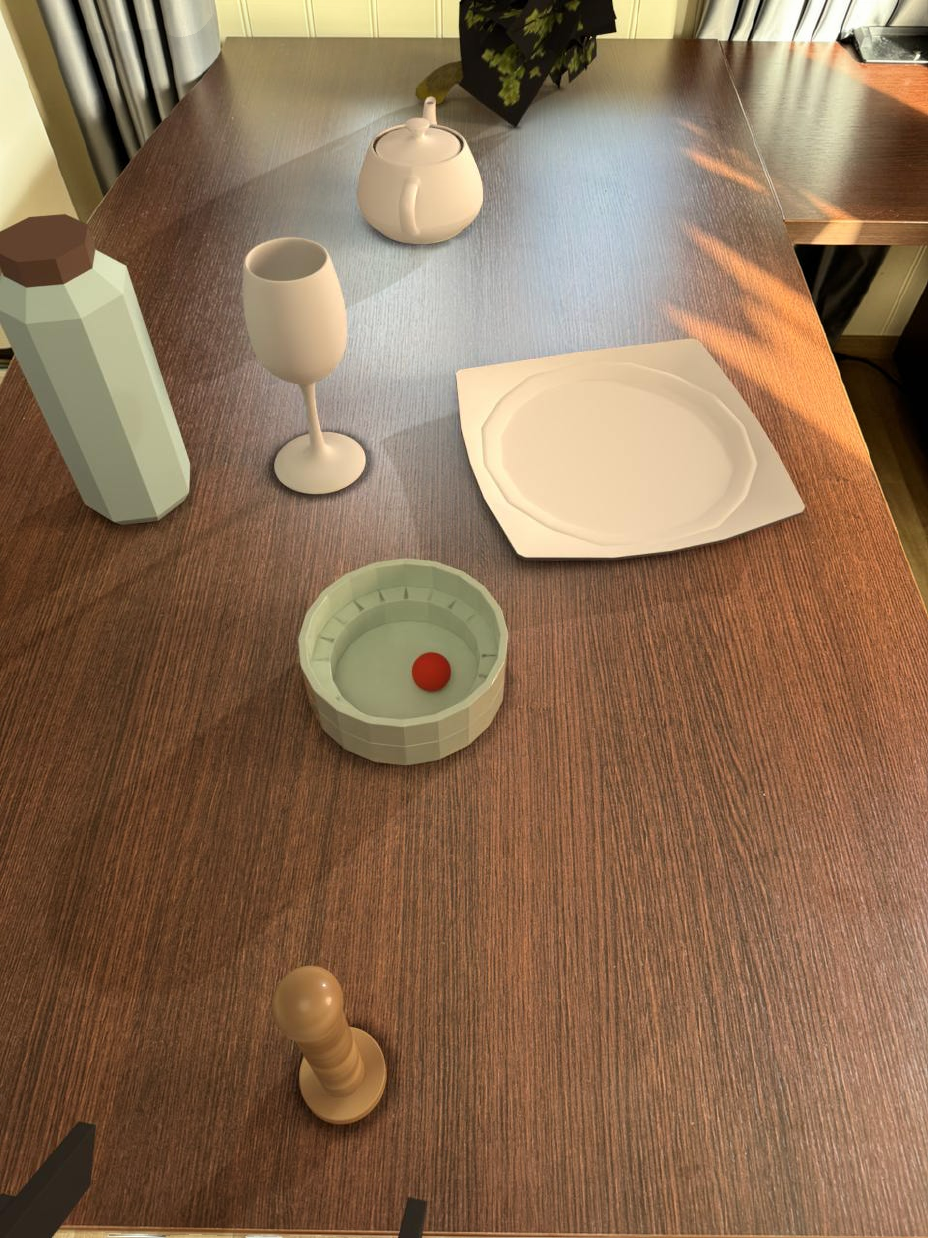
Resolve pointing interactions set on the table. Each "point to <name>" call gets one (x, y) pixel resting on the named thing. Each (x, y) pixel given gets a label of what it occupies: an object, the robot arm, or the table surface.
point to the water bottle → (92, 368)
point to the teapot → (419, 181)
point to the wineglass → (301, 351)
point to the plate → (619, 453)
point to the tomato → (431, 671)
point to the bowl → (403, 660)
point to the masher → (328, 1047)
